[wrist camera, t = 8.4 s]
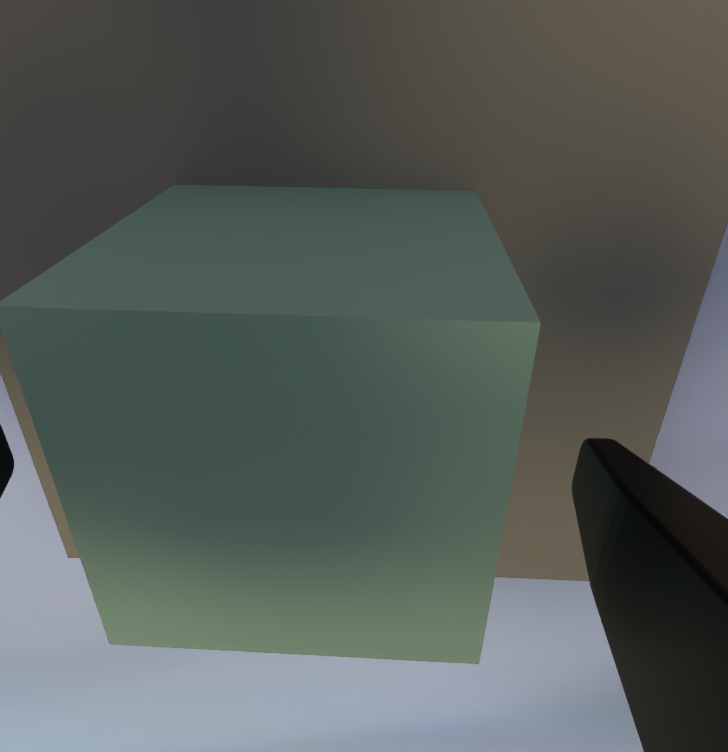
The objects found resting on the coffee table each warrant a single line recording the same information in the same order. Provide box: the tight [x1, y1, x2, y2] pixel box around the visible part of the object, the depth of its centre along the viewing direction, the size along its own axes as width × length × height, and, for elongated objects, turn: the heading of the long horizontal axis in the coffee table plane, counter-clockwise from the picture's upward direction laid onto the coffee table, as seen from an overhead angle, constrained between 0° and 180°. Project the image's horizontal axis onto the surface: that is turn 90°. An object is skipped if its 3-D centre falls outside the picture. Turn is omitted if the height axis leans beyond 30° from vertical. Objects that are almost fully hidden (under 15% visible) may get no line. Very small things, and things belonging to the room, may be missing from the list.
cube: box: [0, 185, 541, 664], centre depth 10 cm, size 6×6×6 cm
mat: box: [0, 0, 728, 581], centre depth 13 cm, size 16×16×1 cm
